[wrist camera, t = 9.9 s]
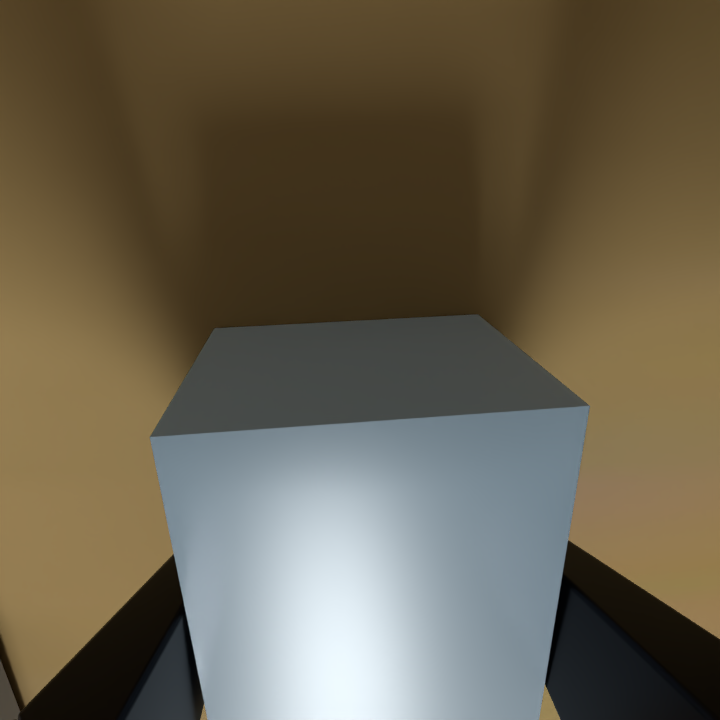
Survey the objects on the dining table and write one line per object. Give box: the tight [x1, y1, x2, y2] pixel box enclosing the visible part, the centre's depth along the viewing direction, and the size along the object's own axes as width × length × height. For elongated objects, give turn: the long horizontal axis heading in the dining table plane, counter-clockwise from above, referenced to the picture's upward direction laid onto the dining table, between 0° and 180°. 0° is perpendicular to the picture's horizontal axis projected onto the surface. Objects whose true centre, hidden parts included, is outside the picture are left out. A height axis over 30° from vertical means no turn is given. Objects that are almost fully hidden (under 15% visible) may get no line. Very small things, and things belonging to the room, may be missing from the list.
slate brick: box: [150, 314, 590, 720], centre depth 9 cm, size 5×7×4 cm
